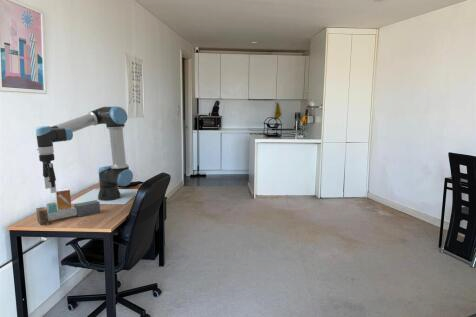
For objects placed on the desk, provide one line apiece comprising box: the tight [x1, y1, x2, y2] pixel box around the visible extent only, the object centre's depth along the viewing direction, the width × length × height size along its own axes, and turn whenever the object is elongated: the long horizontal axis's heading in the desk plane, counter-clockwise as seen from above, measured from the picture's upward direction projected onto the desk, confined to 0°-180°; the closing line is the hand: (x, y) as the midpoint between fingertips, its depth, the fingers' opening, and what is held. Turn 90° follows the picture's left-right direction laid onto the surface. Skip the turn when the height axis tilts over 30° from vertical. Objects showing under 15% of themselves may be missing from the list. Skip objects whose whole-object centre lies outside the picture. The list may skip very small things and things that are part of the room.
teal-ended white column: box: [46, 202, 78, 221], centre depth 204 cm, size 19×5×9 cm, turn 130°
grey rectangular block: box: [73, 199, 101, 218], centre depth 213 cm, size 13×7×7 cm, turn 130°
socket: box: [35, 206, 49, 226], centre depth 198 cm, size 4×8×8 cm, turn 40°
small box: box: [54, 187, 72, 210], centre depth 223 cm, size 8×6×13 cm
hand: (50, 190), depth 199 cm, fingers open, 13 cm apart
